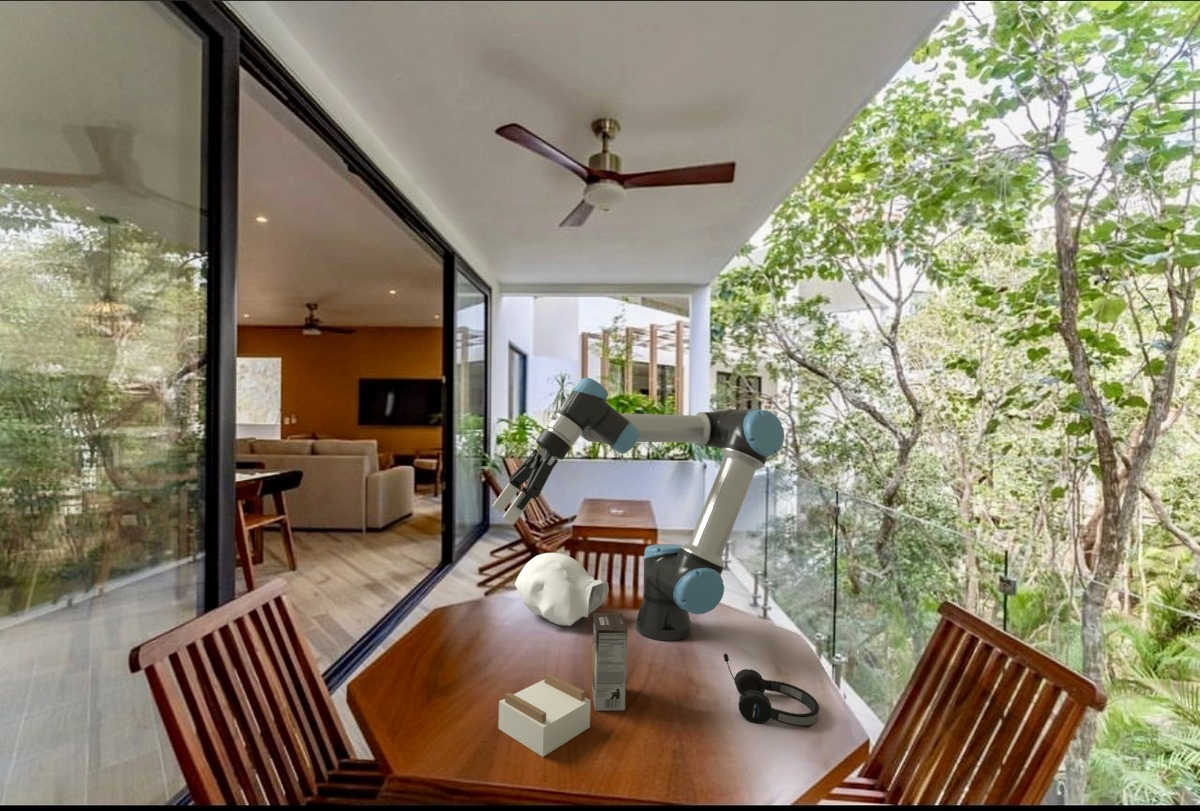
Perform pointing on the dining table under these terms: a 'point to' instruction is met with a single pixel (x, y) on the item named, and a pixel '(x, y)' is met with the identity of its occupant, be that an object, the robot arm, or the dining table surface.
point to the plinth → (545, 714)
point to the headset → (759, 706)
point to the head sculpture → (559, 588)
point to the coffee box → (609, 661)
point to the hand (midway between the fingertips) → (502, 515)
